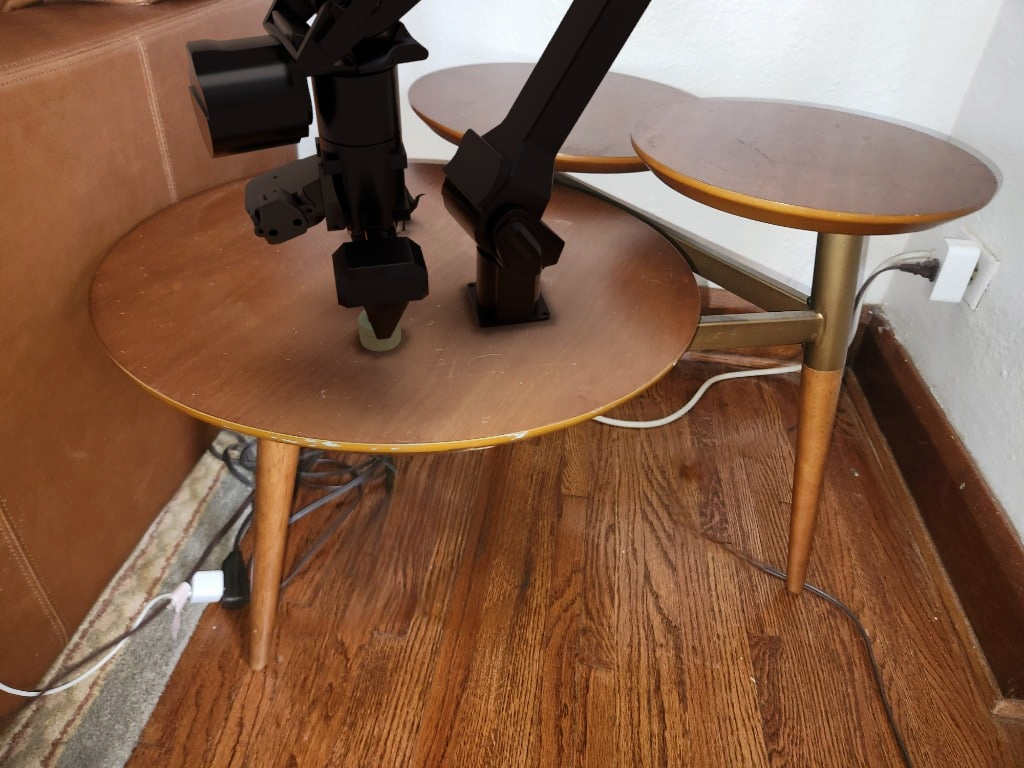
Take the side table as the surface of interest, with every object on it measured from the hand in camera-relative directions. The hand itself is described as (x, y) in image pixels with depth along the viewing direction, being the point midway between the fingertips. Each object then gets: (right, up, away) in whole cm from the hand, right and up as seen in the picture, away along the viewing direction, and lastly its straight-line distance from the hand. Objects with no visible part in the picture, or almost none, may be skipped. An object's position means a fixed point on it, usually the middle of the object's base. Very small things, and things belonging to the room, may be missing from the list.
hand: (378, 310), depth 65 cm
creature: (-2, +10, +16) cm, 18 cm away
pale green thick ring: (0, -2, +2) cm, 3 cm away
